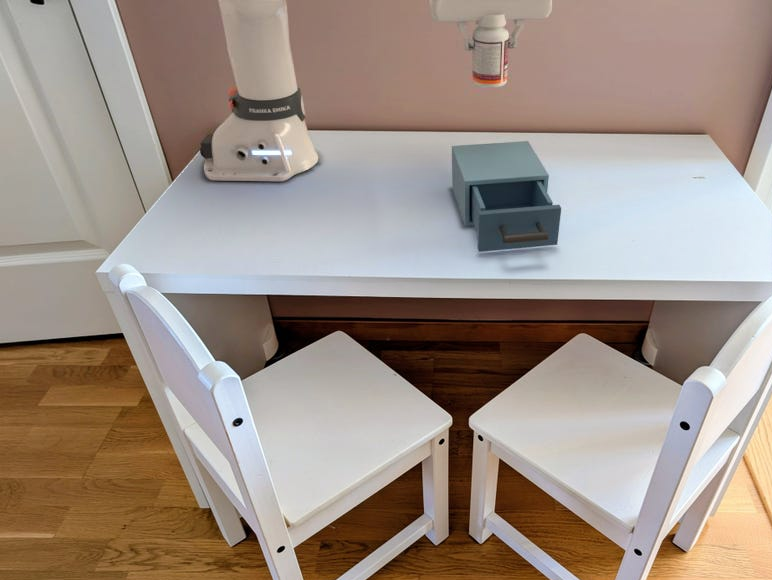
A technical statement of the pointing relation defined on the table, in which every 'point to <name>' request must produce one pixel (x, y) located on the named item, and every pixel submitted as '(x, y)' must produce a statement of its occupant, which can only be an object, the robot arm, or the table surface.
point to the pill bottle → (490, 52)
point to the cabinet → (492, 168)
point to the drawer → (513, 215)
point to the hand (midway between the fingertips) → (490, 48)
